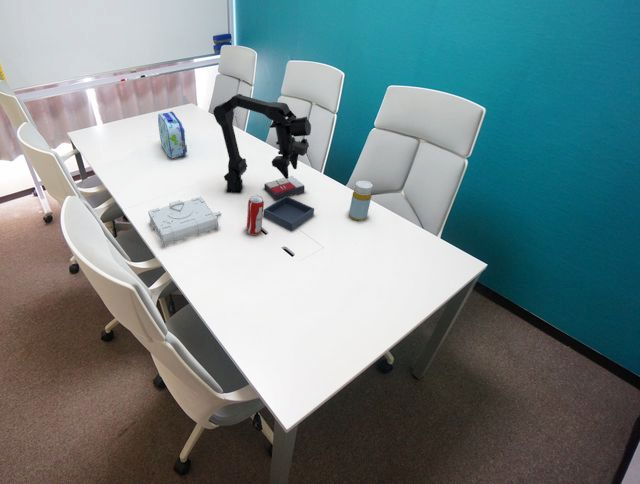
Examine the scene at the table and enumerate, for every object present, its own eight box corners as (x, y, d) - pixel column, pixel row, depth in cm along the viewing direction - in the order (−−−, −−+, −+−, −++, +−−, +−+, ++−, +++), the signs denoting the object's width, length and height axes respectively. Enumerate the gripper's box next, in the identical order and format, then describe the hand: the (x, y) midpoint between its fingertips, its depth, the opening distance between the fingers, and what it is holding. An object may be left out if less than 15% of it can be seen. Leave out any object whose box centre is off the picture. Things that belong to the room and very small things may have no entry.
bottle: (366, 213, 143) (374, 181, 134) (366, 222, 137) (373, 190, 129) (349, 210, 145) (355, 178, 136) (347, 219, 139) (354, 187, 131)
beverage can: (245, 227, 136) (245, 194, 128) (262, 226, 137) (262, 193, 128) (247, 236, 132) (246, 203, 123) (264, 235, 132) (265, 202, 123)
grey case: (231, 227, 137) (230, 211, 132) (162, 249, 127) (159, 232, 122) (211, 204, 151) (210, 189, 147) (148, 222, 141) (145, 206, 136)
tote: (263, 216, 142) (263, 209, 140) (285, 202, 151) (286, 195, 149) (291, 231, 134) (292, 223, 132) (313, 215, 142) (314, 208, 140)
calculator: (263, 182, 158) (292, 174, 163) (264, 190, 161) (292, 182, 165) (275, 193, 150) (305, 184, 154) (275, 201, 153) (304, 192, 157)
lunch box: (189, 158, 190) (185, 121, 178) (170, 162, 186) (164, 124, 174) (177, 141, 209) (172, 107, 197) (159, 145, 206) (154, 110, 194)
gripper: (295, 144, 124) (301, 183, 131) (312, 127, 137) (317, 163, 144) (267, 146, 130) (275, 183, 137) (286, 129, 143) (292, 164, 150)
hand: (291, 173), depth 142 cm, fingers open, 9 cm apart
